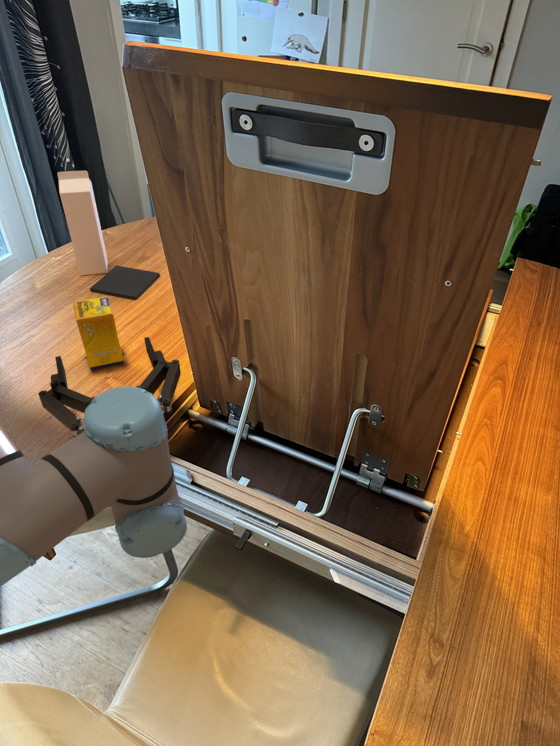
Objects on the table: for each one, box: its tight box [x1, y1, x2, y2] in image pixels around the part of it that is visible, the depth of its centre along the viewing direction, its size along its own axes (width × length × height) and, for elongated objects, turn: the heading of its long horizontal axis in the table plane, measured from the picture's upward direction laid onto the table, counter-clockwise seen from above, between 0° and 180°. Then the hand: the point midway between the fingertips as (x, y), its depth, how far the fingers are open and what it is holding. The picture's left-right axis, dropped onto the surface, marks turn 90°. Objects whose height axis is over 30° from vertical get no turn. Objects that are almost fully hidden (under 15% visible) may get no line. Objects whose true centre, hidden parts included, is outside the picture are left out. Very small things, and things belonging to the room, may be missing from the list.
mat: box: [89, 264, 161, 301], centre depth 114 cm, size 11×11×1 cm
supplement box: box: [72, 295, 125, 372], centre depth 90 cm, size 6×6×11 cm
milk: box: [56, 170, 109, 276], centre depth 112 cm, size 6×6×22 cm
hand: (104, 353), depth 82 cm, fingers open, 13 cm apart
